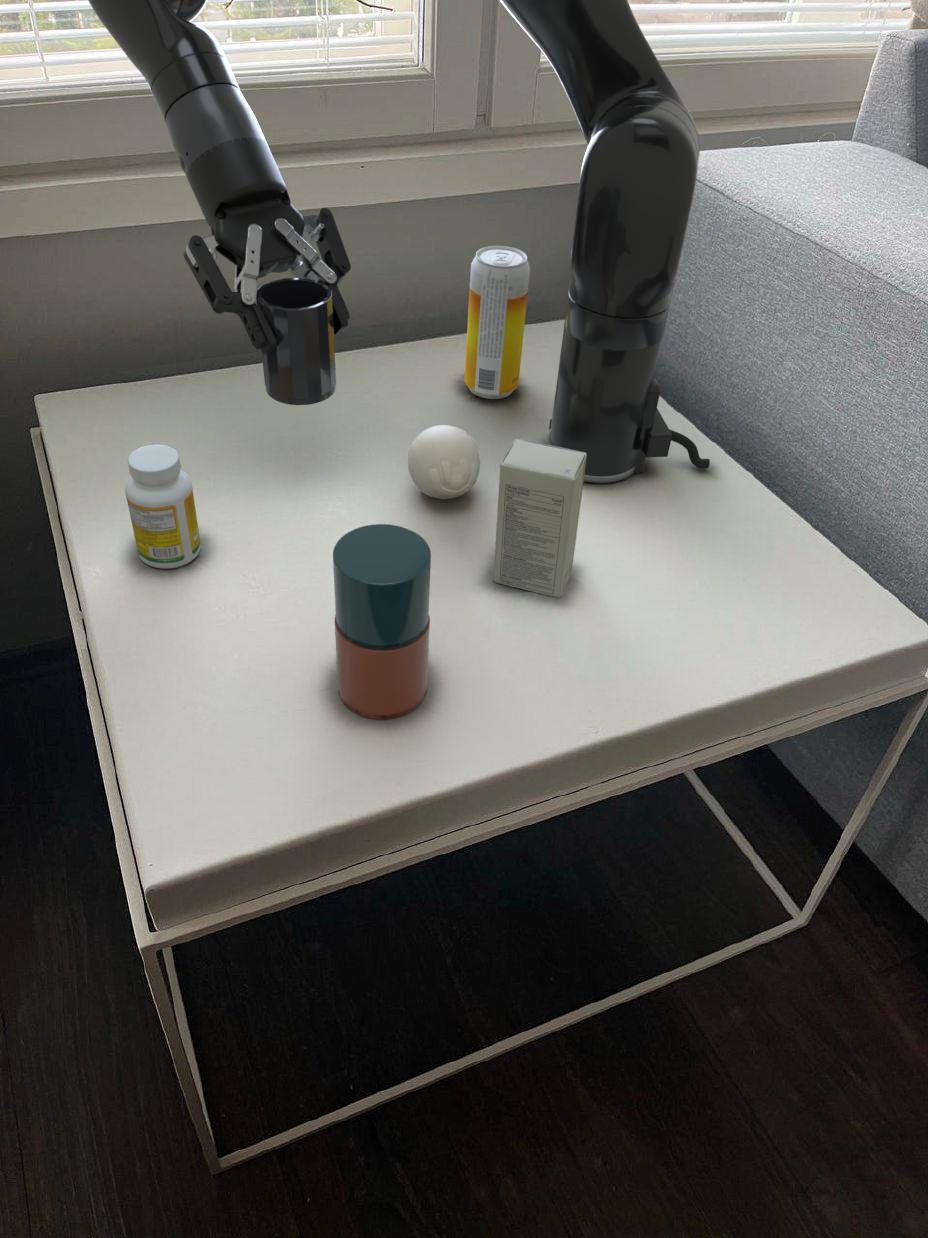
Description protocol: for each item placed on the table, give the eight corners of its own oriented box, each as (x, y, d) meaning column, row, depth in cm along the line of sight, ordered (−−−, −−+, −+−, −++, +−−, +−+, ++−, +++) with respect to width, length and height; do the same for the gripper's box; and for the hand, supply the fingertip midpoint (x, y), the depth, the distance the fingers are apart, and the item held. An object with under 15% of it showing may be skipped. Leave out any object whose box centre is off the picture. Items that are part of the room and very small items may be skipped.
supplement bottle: (164, 579, 82) (145, 484, 76) (125, 551, 84) (104, 457, 78) (214, 550, 85) (200, 457, 79) (176, 524, 88) (159, 432, 81)
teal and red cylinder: (421, 652, 77) (426, 520, 68) (432, 716, 72) (438, 582, 63) (335, 658, 76) (329, 524, 67) (340, 723, 71) (333, 588, 62)
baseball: (421, 520, 90) (423, 459, 86) (399, 477, 95) (400, 417, 91) (489, 509, 92) (494, 449, 87) (464, 467, 97) (468, 408, 92)
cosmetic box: (572, 570, 86) (592, 452, 78) (560, 600, 83) (579, 480, 74) (503, 552, 87) (515, 434, 79) (488, 581, 84) (499, 462, 76)
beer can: (519, 377, 111) (532, 246, 101) (516, 403, 107) (529, 270, 97) (466, 372, 111) (474, 241, 101) (461, 398, 107) (469, 264, 97)
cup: (334, 369, 92) (330, 277, 86) (337, 404, 87) (333, 308, 81) (265, 371, 91) (256, 278, 85) (265, 406, 86) (255, 310, 80)
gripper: (156, 147, 77) (245, 344, 78) (312, 121, 84) (392, 303, 85) (139, 196, 83) (221, 377, 85) (285, 168, 90) (359, 336, 91)
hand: (307, 339), depth 85 cm, fingers closed on cup, 6 cm apart
